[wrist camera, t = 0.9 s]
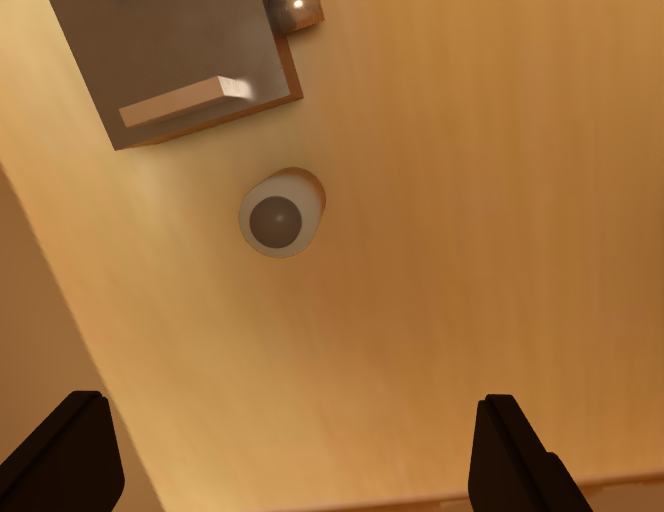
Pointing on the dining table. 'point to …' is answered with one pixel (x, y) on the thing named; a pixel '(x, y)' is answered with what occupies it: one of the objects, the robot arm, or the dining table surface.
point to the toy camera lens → (282, 212)
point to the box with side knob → (183, 61)
